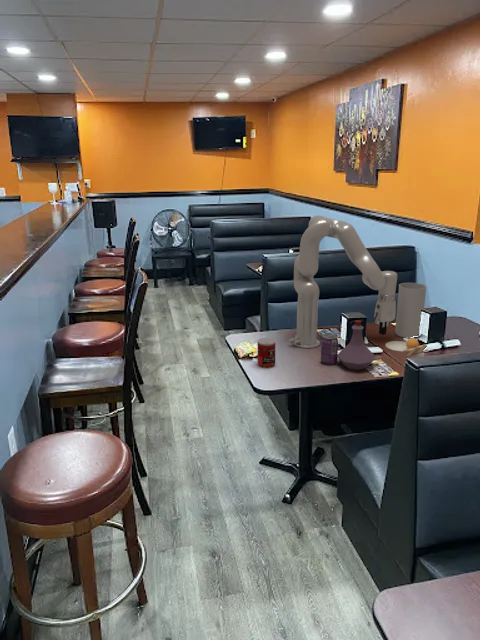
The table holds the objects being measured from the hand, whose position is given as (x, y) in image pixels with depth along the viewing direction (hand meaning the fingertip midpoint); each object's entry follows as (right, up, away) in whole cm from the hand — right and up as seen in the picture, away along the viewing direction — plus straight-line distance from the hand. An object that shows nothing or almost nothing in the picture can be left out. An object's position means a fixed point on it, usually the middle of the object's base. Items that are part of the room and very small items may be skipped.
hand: (382, 334), depth 241 cm
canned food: (-57, -13, -25) cm, 64 cm away
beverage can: (-30, -12, -23) cm, 40 cm away
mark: (+6, -6, -7) cm, 11 cm away
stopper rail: (+10, -8, -15) cm, 20 cm away
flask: (-19, -13, -27) cm, 36 cm away
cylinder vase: (+15, -1, +8) cm, 17 cm away
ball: (+10, -4, -12) cm, 16 cm away
